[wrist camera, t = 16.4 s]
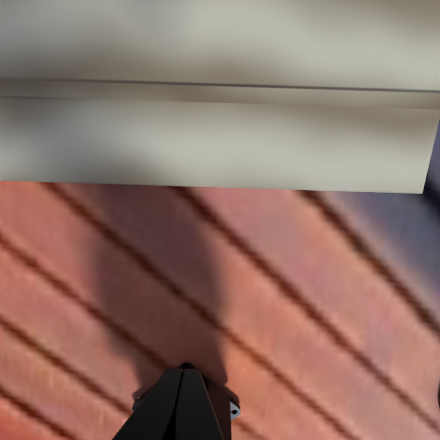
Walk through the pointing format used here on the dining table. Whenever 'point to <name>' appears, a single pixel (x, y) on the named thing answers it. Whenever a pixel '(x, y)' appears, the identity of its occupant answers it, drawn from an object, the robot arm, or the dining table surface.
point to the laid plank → (220, 93)
